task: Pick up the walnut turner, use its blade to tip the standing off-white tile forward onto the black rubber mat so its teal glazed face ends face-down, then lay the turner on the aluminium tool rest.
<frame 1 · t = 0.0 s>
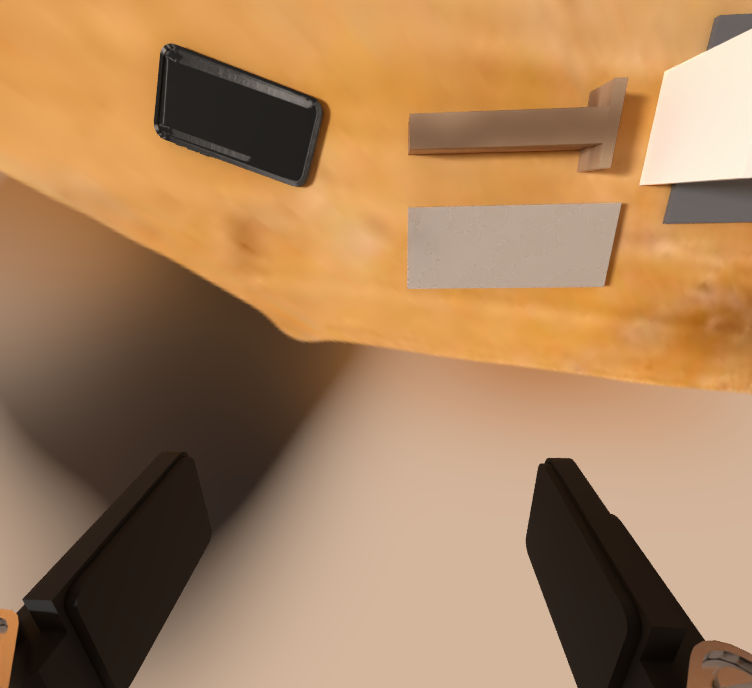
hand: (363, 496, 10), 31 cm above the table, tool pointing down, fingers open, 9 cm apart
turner: (505, 136, 34), on the table
phone: (241, 122, 35), on the table
tool rest: (505, 246, 37), on the table
tile: (662, 130, 33), on the table
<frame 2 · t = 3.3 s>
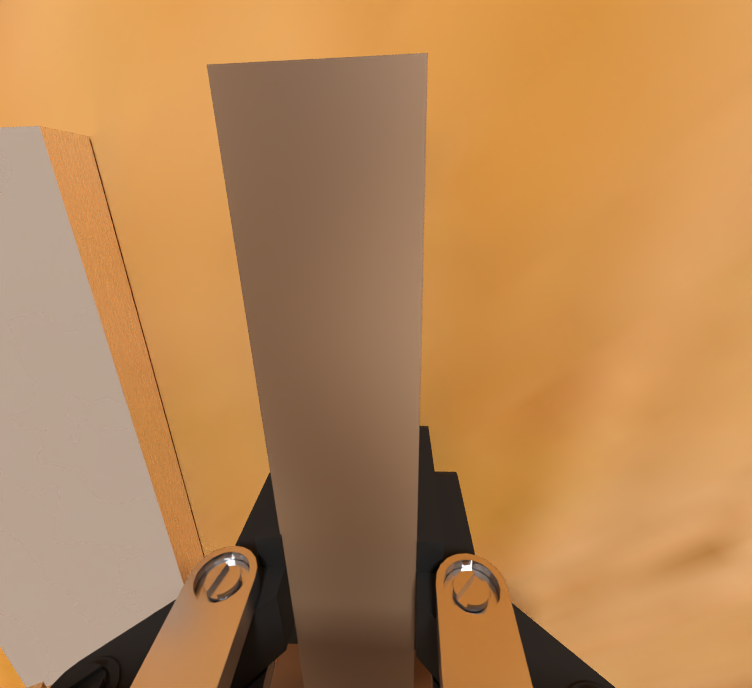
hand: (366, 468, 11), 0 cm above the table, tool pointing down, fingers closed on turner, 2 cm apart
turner: (367, 464, 11), on the table, touching gripper
tool rest: (68, 483, 12), on the table
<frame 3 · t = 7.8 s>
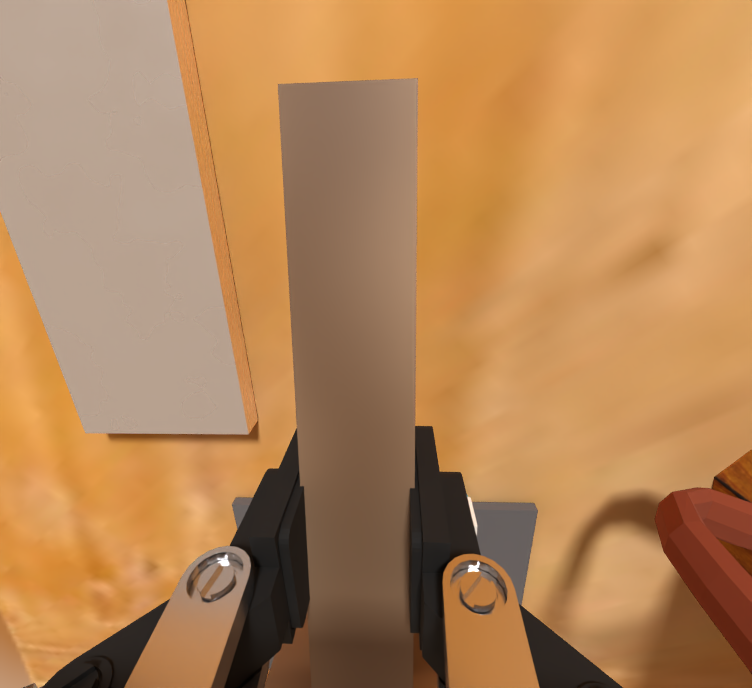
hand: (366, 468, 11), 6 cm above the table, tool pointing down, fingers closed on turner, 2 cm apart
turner: (369, 440, 12), point 5 cm above the table, tilted 11°, touching gripper
mat: (384, 595, 22), on the table
tool rest: (123, 206, 14), on the table
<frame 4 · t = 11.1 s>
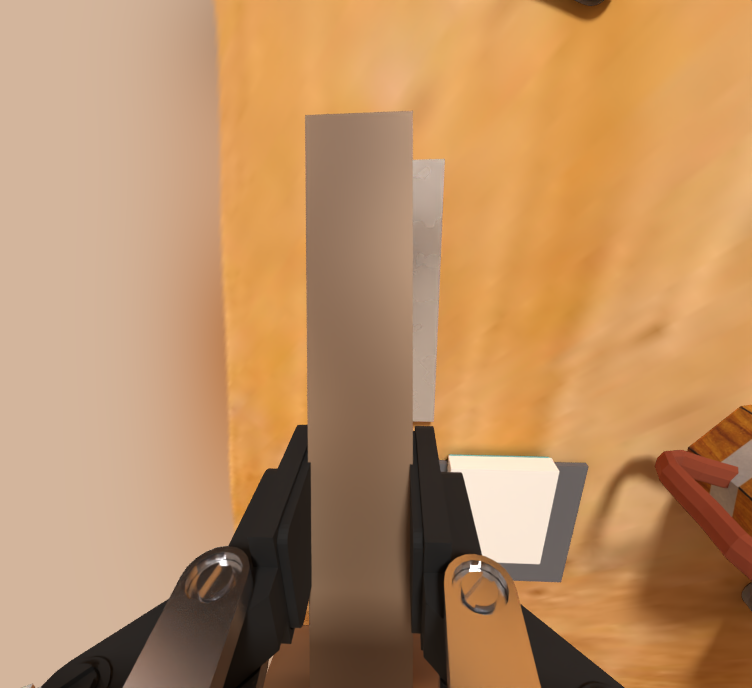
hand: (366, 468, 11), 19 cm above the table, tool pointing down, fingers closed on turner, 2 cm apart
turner: (371, 437, 13), point 17 cm above the table, tilted 20°, touching gripper
mat: (488, 522, 36), on the table
tool rest: (385, 304, 28), on the table
mug: (726, 454, 32), on the table
tile: (501, 462, 31), point 1 cm above the table, tilted 90°, touching mat
when the fingers open (3 cm above the table, at t = 14.2 s): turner stays where it is, resting on tool rest.
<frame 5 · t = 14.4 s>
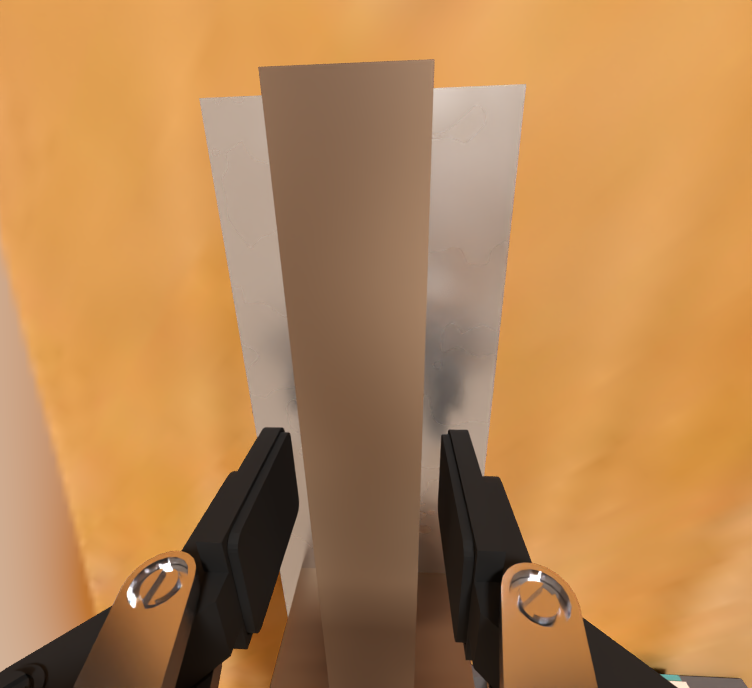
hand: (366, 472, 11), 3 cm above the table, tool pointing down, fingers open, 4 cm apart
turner: (374, 426, 12), point 1 cm above the table, touching tool rest
tool rest: (372, 416, 14), on the table
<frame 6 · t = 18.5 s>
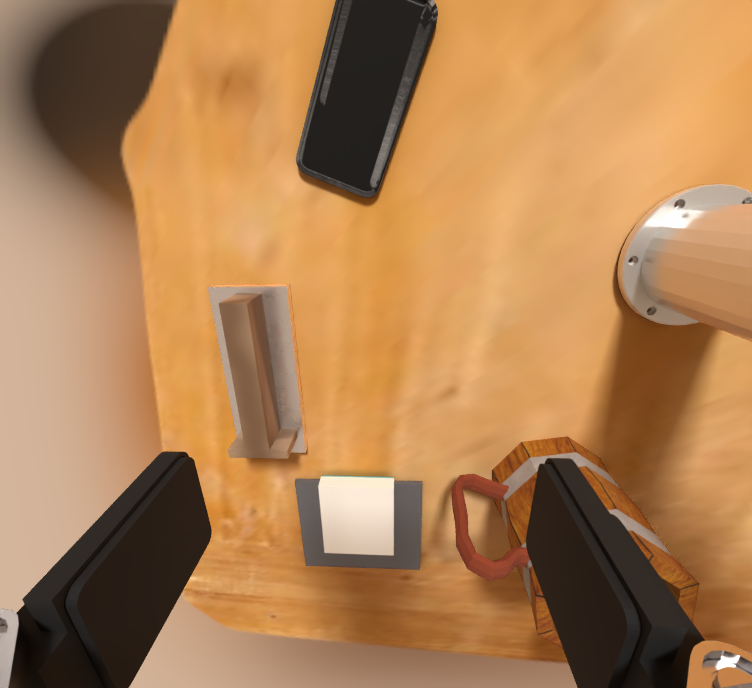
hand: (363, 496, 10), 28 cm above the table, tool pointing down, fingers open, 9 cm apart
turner: (261, 374, 39), point 1 cm above the table, touching tool rest
phone: (362, 96, 31), on the table
mat: (360, 524, 48), on the table
tool rest: (264, 372, 41), on the table
mug: (520, 475, 44), on the table
tile: (356, 481, 44), point 1 cm above the table, tilted 90°, touching mat
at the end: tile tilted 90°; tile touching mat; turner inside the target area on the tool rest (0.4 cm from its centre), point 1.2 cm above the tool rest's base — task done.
